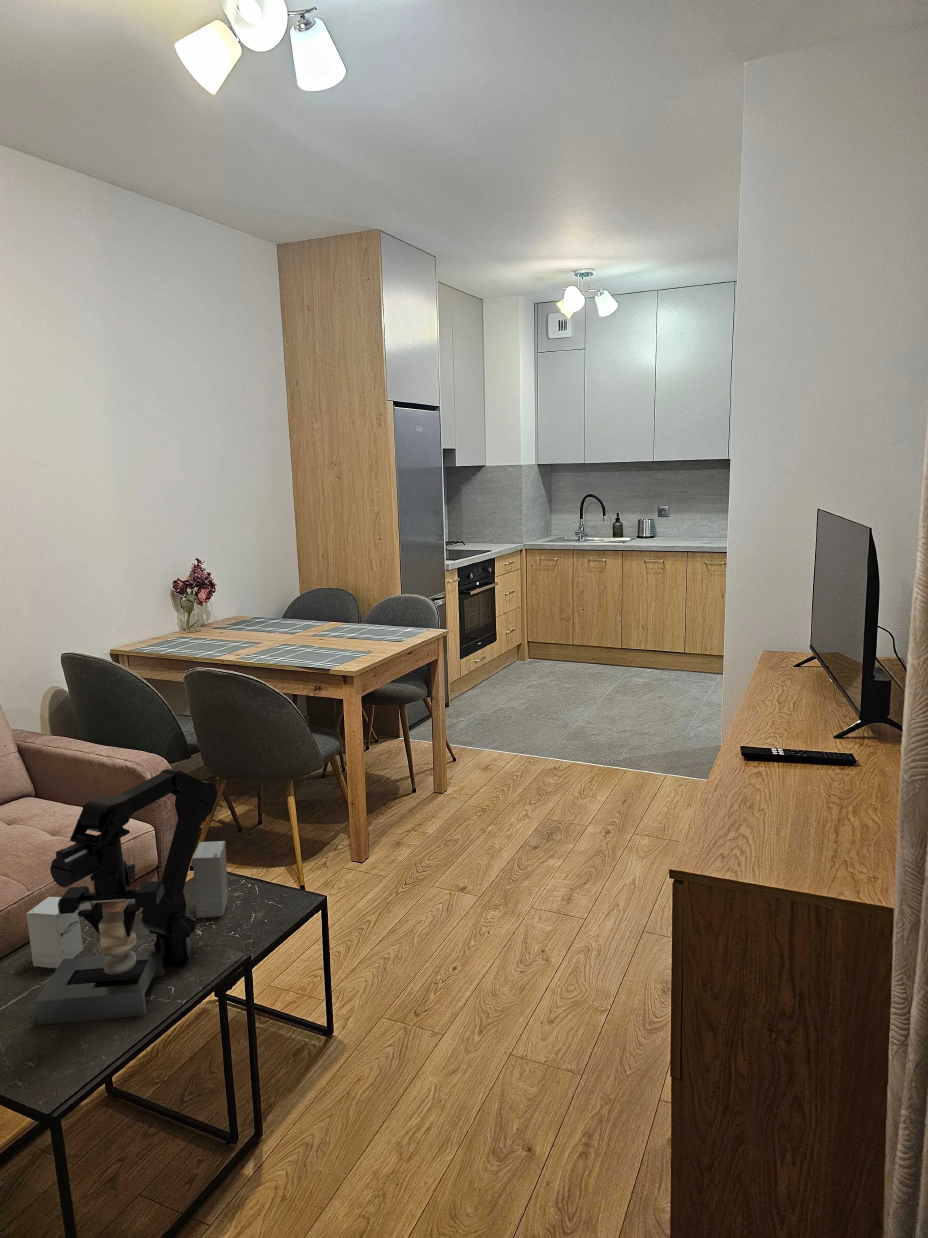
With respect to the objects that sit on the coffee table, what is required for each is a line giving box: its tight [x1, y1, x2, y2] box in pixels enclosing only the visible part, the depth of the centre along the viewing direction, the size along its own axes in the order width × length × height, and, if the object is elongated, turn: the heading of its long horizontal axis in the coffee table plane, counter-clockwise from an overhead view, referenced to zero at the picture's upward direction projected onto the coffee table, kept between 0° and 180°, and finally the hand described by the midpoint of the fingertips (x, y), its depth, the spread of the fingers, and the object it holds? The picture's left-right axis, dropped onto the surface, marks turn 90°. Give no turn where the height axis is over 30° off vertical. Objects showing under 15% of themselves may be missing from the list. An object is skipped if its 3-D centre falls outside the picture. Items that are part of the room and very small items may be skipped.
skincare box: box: [191, 840, 229, 919], centre depth 197 cm, size 8×7×16 cm
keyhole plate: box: [34, 950, 165, 1026], centre depth 166 cm, size 20×14×5 cm
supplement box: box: [25, 896, 84, 969], centre depth 180 cm, size 7×7×13 cm
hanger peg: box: [97, 910, 137, 974], centre depth 165 cm, size 7×7×10 cm
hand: (116, 936), depth 164 cm, fingers closed on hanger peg, 4 cm apart
